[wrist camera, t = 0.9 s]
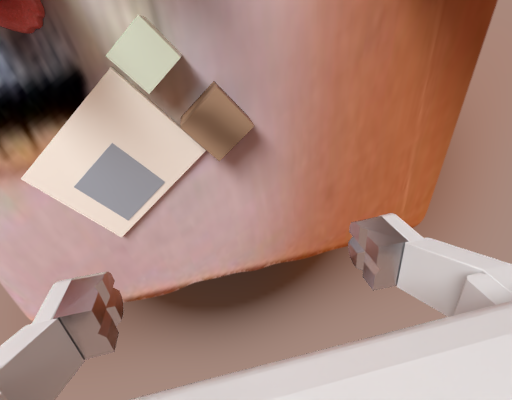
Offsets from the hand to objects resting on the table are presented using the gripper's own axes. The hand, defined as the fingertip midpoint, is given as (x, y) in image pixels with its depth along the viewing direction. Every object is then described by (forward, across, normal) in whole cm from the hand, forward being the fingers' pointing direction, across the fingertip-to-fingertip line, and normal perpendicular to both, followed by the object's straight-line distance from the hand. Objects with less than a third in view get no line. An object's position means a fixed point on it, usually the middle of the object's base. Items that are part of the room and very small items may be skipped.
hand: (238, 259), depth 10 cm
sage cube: (+31, +5, -6) cm, 32 cm away
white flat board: (+31, +12, +6) cm, 34 cm away
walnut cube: (+31, -1, +2) cm, 31 cm away
